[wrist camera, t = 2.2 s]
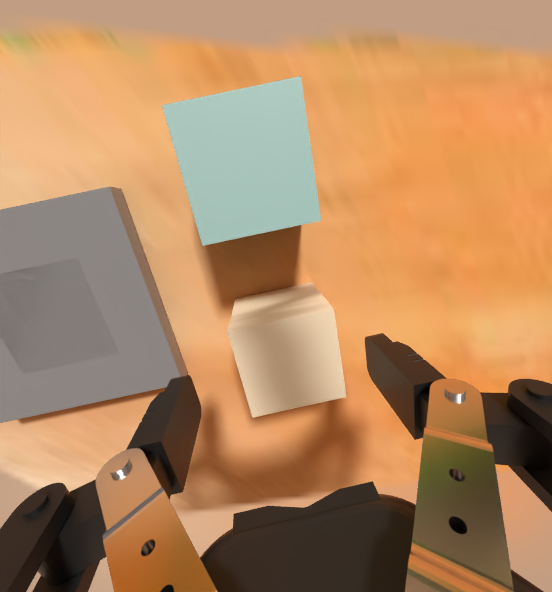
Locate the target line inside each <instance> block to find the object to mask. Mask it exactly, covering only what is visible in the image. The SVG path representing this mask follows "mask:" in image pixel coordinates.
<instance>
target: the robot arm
mask: <svg viewBox="0 0 552 592" xmlns="http://www.w3.org/2000/svg"><path fill="white" fill-rule="evenodd" d="M365 348H366V360H367V368H368V372H369V375H370V377H371V379H372V381H373V382H374V384H375V385H376V386H377V388H378V389H379V391H380V392H381V393H382V395H383V396H384V398H385V399H386V400H387V402H388V403H389V404H390V406H391V407H392V409H393V410H394V411H395V413H396V414H397V416H398V417H399V418H400V420H401V421H402V422H403V424H404V425H405V427H406V428H407V429H408V431H409V432H410V434H411V435H412V436H413V438H414V439H420V438H423V444H422V454H421V463H420V472H419V481H418V492H417V500H416V505H415V504H413V503H411V502H409V501H406V500H404V499H401V498H398V497H394V496H390V495H384V494H378V492H377V490H376V488H375V485H374V483H373V481H372V482H368V483H364V484H360V485H355V486H351V487H347V488H343V489H339V490H337V491H335V492H333V493H332V494H330V495H328V496H326V497H324V498H323V499H321V500H319V501H317V502H315V503H314V504H312V505H310V506H308V507H305V508H297V507H280V506H266V507H261V508H257V509H253V510H249V511H244V512H240V513H236V514H234V520H233V529H231V530H229V531H228V532H226V533H225V534H223V535H222V536H221V537H219V538H218V539H217V540H216V541H215V542H214V543H213V544H212V545H211V546H210V547H209V548H208V549H207V550H206V551H205V552H204V554H203V555H202V556H201V557H199V555H198V553H197V551H196V550H195V548H194V546H193V544H192V542H191V540H190V538H189V536H188V534H187V533H186V531H185V529H184V527H183V525H182V523H181V521H180V519H179V517H178V515H177V514H176V512H175V510H174V508H173V506H172V504H171V502H170V500H169V499H170V496H171V495H172V494H176V493H181V492H183V490H184V486H185V481H186V477H187V473H188V469H189V465H190V461H191V457H192V452H193V448H194V444H195V440H196V436H197V432H198V428H199V423H200V419H201V405H200V402H199V399H198V396H197V393H196V390H195V387H194V384H193V381H192V379H191V377H190V376H189V375H186V376H181V377H177V378H172V379H171V380H170V381H169V384H168V386H167V388H166V390H165V392H162V393H160V394H159V395H158V396H157V397H156V398H155V399H154V400H153V401H152V402H151V403H150V405H149V407H148V409H147V411H146V414H145V415H144V417H143V419H142V422H141V423H140V424H139V426H138V428H137V430H136V432H135V434H134V436H133V438H132V440H131V442H130V444H129V445H128V447H127V449H126V450H125V451H123V452H121V453H119V454H117V455H116V456H114V457H113V458H112V459H110V460H109V461H108V462H107V463H106V464H105V465H104V466H103V467H102V469H101V470H100V471H99V473H98V475H97V478H96V480H94V481H92V482H89V483H87V484H85V485H83V486H81V487H79V488H77V489H75V490H73V491H71V492H69V491H68V489H67V488H66V486H65V485H64V484H63V483H54V484H50V485H48V486H45V487H43V488H41V489H40V490H38V491H36V492H35V493H33V494H32V495H31V496H29V497H28V498H27V499H26V500H24V501H23V502H22V503H21V504H20V505H19V506H18V507H17V508H16V509H15V510H14V512H13V513H12V514H11V515H10V517H9V518H8V519H7V521H6V522H5V523H4V525H3V526H2V528H1V529H0V592H26V591H27V589H28V587H29V585H30V584H31V582H32V580H33V578H34V576H35V575H36V573H37V571H38V572H39V573H40V574H41V577H40V579H39V580H38V582H37V584H36V586H35V588H34V590H33V592H88V590H89V588H90V585H91V582H92V580H93V577H94V575H95V572H96V569H97V567H98V564H99V562H100V560H101V559H103V558H105V557H107V561H108V566H109V570H110V575H111V579H112V584H113V588H114V592H543V591H542V590H540V589H539V588H537V587H536V586H534V585H533V584H531V583H530V582H529V581H527V580H526V579H524V578H523V577H521V576H520V575H519V574H517V573H516V572H514V571H513V570H511V568H510V561H509V555H508V548H507V541H506V534H505V528H504V521H503V514H502V507H501V500H500V494H499V487H498V480H497V473H496V467H495V464H500V465H508V466H509V467H510V468H511V469H512V470H513V471H514V472H515V473H516V474H517V475H518V476H519V477H520V478H521V480H522V481H523V482H524V483H525V484H526V485H527V486H528V487H529V488H530V489H531V490H532V491H533V492H534V493H535V494H536V496H538V498H540V500H541V501H542V502H543V503H544V504H545V505H546V506H547V507H548V508H549V509H550V510H551V512H552V384H549V383H546V382H543V381H539V380H533V379H518V380H514V381H512V382H511V383H510V384H509V388H508V393H481V392H479V391H478V390H477V389H476V388H475V387H473V386H472V385H470V384H468V383H466V382H463V381H460V380H456V379H447V378H446V377H444V376H443V375H442V374H441V373H440V372H438V371H437V370H436V369H435V368H434V367H433V366H431V365H430V364H429V363H428V362H427V361H426V360H423V358H422V357H421V356H420V355H418V354H417V353H416V352H415V351H414V350H413V349H411V348H410V347H409V346H407V345H405V344H402V343H400V342H398V341H397V342H392V341H391V340H390V339H389V338H388V337H387V336H385V335H384V334H383V333H381V334H377V335H372V336H368V337H366V338H365Z"/></svg>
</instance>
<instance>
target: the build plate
mask: <svg viewBox="0 0 552 592" xmlns="http://www.w3.org/2000/svg"><path fill="white" fill-rule="evenodd" d="M187 373H188V372H187V369H186V367H185V364H184V361H183V358H182V356H181V353H180V350H179V347H178V344H177V342H176V339H175V336H174V333H173V331H172V328H171V325H170V322H169V320H168V317H167V314H166V311H165V309H164V306H163V303H162V300H161V298H160V295H159V292H158V289H157V286H156V284H155V281H154V278H153V275H152V273H151V270H150V267H149V264H148V262H147V259H146V256H145V253H144V251H143V248H142V245H141V242H140V240H139V237H138V234H137V231H136V228H135V226H134V223H133V220H132V217H131V215H130V212H129V209H128V206H127V204H126V201H125V198H124V195H123V193H122V190H121V189H120V188H114V187H106V188H101V189H96V190H92V191H87V192H82V193H77V194H73V195H68V196H63V197H59V198H54V199H49V200H45V201H40V202H35V203H30V204H26V205H21V206H16V207H12V208H7V209H2V210H0V423H3V422H8V421H12V420H17V419H21V418H26V417H31V416H35V415H40V414H45V413H49V412H54V411H59V410H63V409H68V408H73V407H77V406H82V405H86V404H91V403H96V402H100V401H105V400H110V399H114V398H119V397H124V396H128V395H133V394H138V393H142V392H147V391H152V390H156V389H161V388H165V387H167V386H168V384H169V381H170V380H171V379H172V378H177V377H181V376H186V375H187Z"/></svg>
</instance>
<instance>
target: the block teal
mask: <svg viewBox="0 0 552 592" xmlns="http://www.w3.org/2000/svg"><path fill="white" fill-rule="evenodd" d="M162 107H163V111H164V114H165V118H166V121H167V125H168V128H169V132H170V135H171V138H172V142H173V145H174V149H175V152H176V156H177V159H178V163H179V166H180V170H181V173H182V177H183V180H184V184H185V187H186V190H187V194H188V197H189V201H190V204H191V208H192V211H193V215H194V218H195V222H196V225H197V229H198V232H199V236H200V239H201V242H202V246H204V245H209V244H214V243H218V242H223V241H228V240H233V239H237V238H242V237H247V236H251V235H256V234H261V233H265V232H270V231H275V230H280V229H284V228H289V227H294V226H298V225H303V224H308V223H312V222H317V221H321V216H320V209H319V202H318V195H317V187H316V180H315V173H314V166H313V159H312V152H311V145H310V138H309V131H308V123H307V116H306V109H305V102H304V95H303V88H302V81H301V76H299V77H295V78H290V79H285V80H280V81H275V82H271V83H266V84H261V85H256V86H252V87H247V88H242V89H237V90H233V91H228V92H223V93H218V94H214V95H209V96H204V97H199V98H195V99H190V100H185V101H180V102H176V103H171V104H166V105H162Z"/></svg>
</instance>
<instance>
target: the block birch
mask: <svg viewBox="0 0 552 592" xmlns="http://www.w3.org/2000/svg"><path fill="white" fill-rule="evenodd" d="M227 333H228V336H229V339H230V343H231V346H232V350H233V353H234V356H235V360H236V363H237V367H238V370H239V373H240V377H241V380H242V384H243V387H244V390H245V394H246V397H247V401H248V404H249V408H250V411H251V414H252V418H253V417H258V416H262V415H267V414H271V413H276V412H280V411H285V410H290V409H294V408H299V407H303V406H308V405H312V404H317V403H321V402H326V401H330V400H335V399H339V398H344V397H346V390H345V383H344V376H343V369H342V362H341V356H340V349H339V342H338V335H337V328H336V321H335V314H334V309H333V308H332V306H331V305H330V304H329V303H328V301H327V300H326V299H325V298H324V296H323V295H322V294H321V292H320V291H319V290H318V289H317V287H316V286H315V285H314V284H313V282H309V283H305V284H300V285H296V286H291V287H286V288H282V289H277V290H273V291H268V292H263V293H259V294H254V295H250V296H245V297H241V298H236V299H235V303H234V307H233V311H232V316H231V320H230V324H229V328H228V332H227Z"/></svg>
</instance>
